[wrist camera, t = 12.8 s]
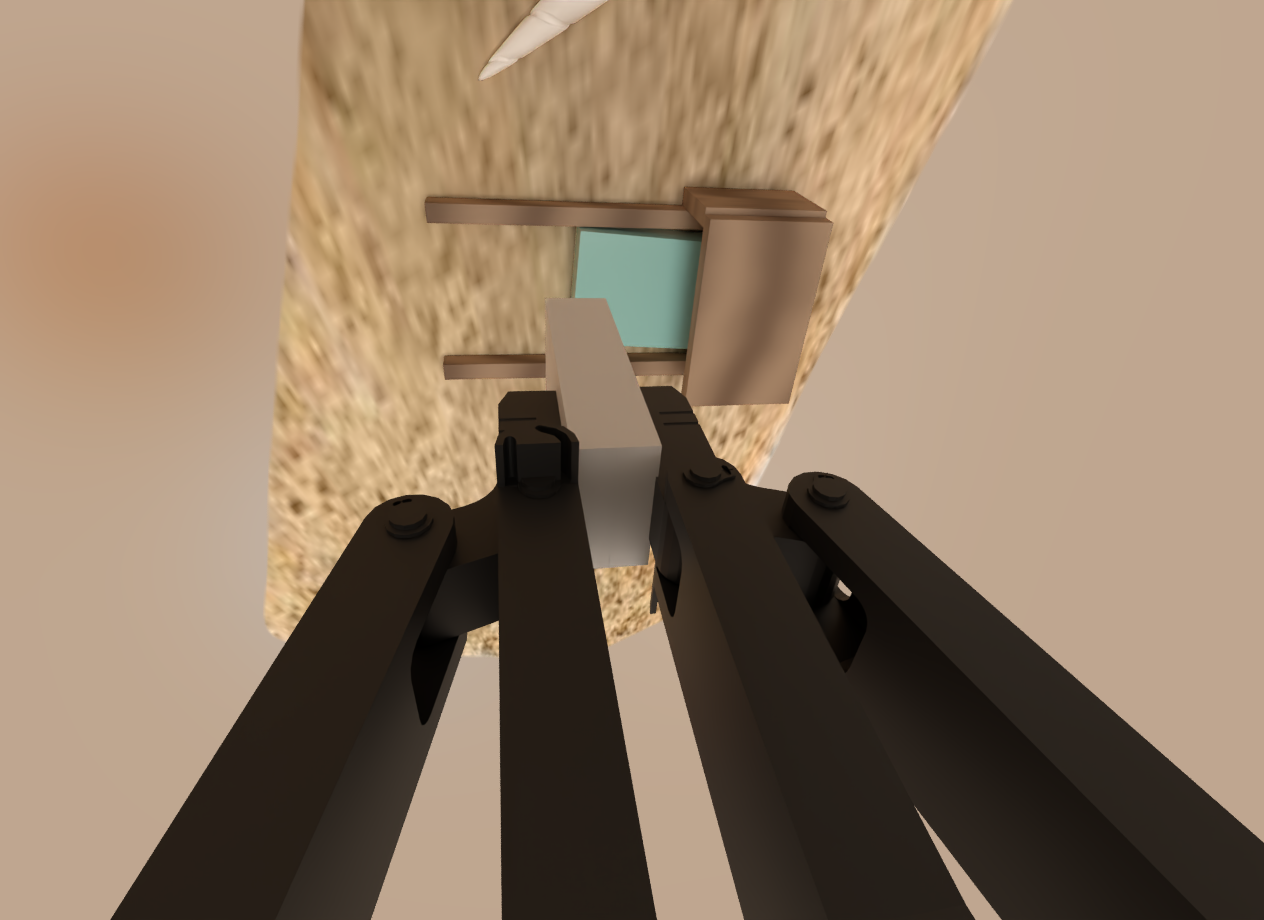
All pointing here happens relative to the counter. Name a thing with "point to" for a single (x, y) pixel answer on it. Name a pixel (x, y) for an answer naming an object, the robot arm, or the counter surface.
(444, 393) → the counter surface
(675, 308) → the tile
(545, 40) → the unicorn horn
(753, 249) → the overhang
